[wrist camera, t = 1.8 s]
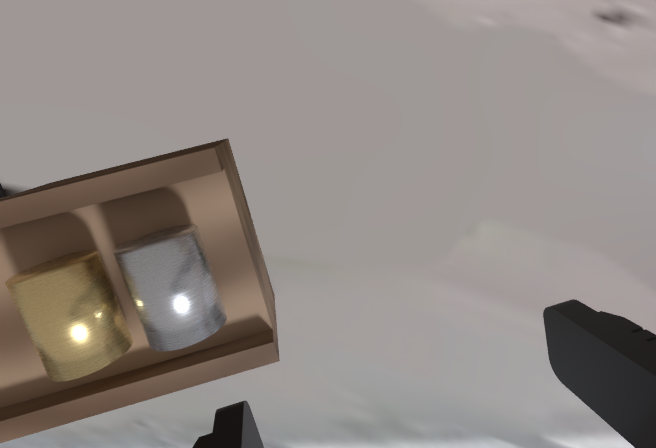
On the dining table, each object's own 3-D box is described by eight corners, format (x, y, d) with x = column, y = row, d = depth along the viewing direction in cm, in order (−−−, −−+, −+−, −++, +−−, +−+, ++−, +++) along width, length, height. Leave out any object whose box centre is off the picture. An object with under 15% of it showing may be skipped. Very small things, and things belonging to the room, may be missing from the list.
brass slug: (0, 278, 22) (10, 290, 19) (86, 246, 24) (108, 253, 21) (41, 366, 23) (57, 392, 20) (119, 328, 26) (144, 346, 22)
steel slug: (124, 240, 24) (103, 262, 20) (200, 219, 24) (194, 237, 20) (155, 324, 25) (142, 361, 21) (227, 302, 25) (226, 334, 22)
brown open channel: (-27, 202, 30) (-155, 240, 20) (228, 138, 31) (214, 147, 22) (46, 359, 33) (-38, 454, 24) (274, 295, 34) (279, 360, 25)
